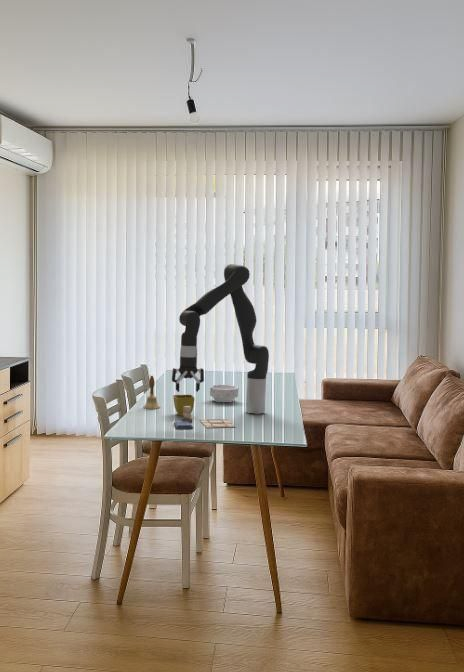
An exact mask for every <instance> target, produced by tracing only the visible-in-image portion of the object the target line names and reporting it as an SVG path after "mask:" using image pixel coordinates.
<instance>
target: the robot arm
mask: <svg viewBox="0 0 464 672" xmlns="http://www.w3.org/2000/svg"><path fill="white" fill-rule="evenodd" d="M250 275H251V274H250V270H249V268H248V267H246V266H245V265H241V264H237V263H235V264H234V263H229V264H228V265H226V266H225V268H224V270H223V279H224V282H222V283H221V284H220V285H218V286H216V287H214V288H212V289H210V290H209V291H206V293H204V295H202V296H201V297H200V298H199V299H198V300H197V301H196V302H195V303H193V304H191V305H190V306H188V307H187V308H185V309H184V310H183V311H182V312H181V313H180V315H179V323H180V324H181V325H182V326H184V327H185V329H184V332H182V333H181V336H180V338H181V339H180V349H179V350H180V353H179V368H175V367H173V368H172V375H171V382H172V383H175V391H176V392H177V393H180V382H181V381H182V380H183V379H194V380H195V382H196V383H195V392H196V393H197V392H199V391H200V388H201V387H200V385H201V383H204V382H205V375H204V374H205V371H204V368H203V367H202V368H201V367H200V368H198V367H197V365H198V364H197V363H198V346H197V344H198V333H199V329H200V326H201V316H204V315H206V314H208V313H209V312H210V311H212V310H213V308H214V307H215V306H217V304H219V303H220V302H221V301H222V300H224V299H225V298H226V297H228V296H229V295H230V298H231V302H232V305H233V309H234V314H235V318H236V323H237V324H238V329H239V333H240V337H241V343H242V349H243V357H244V359H245V362H247V363H249V364H252V365H253V364H255V365H254V366H255V367H254V369H252V370H249V371H248V372H247V374H246V375H247V377H246V378H247V379H246V408H245V412H246V413H247V412H248V413H247V414H249V413H255V414H254V415H260V414H259V413H264V412H265V413H266V394H267V393H266V391H267V389H266V386H267V374H268V371H269V362H270V361H269V360H270V354H269V348H268V347H267V346H265V345H259V344H256V343H255V341H254V336H253V334H254V330H255V328H256V325H257V315H256V311H255V310H256V309H255V307H254V305H253V303H252V301H251V300H250V299H249V297H248V296H247V293H246V292H245V290H244V287H243V286H244V285H245V284H246V283H247V282H248V281H249V279H250ZM178 372H179V375H178V377H177V378H176V374H178ZM197 372H198V373H199V376H200V377H199V378H198V377H197V375H196V374H197ZM265 413H264V414H265Z"/></svg>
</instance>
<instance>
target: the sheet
mask: <svg viewBox="0 0 464 672" xmlns="http://www.w3.org/2000/svg"><path fill="white" fill-rule="evenodd" d="M199 421H200V423H201V424H202V425H203V426H204V427H205V429H226V428H227V429H229V428H234V429H235V428H236V426H235V425H234V424H233V422H231V421H230V420H229V419H228V418H214V419H210V418H209V419H205V418H204V419H202V418H201V419H199Z"/></svg>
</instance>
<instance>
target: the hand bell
mask: <svg viewBox="0 0 464 672" xmlns="http://www.w3.org/2000/svg"><path fill="white" fill-rule="evenodd" d="M149 377H150V378H149V381H148V383H149V388H150V390H149V393H150V395H149V396H147V399H146V403H145V404H144V405H143V409H145V408H146V410H159V409H161V406H160V405H159V403H158V401H157V396H155V395H154V394H155V393H154V387H155V377H154V375H150V376H149Z"/></svg>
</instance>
